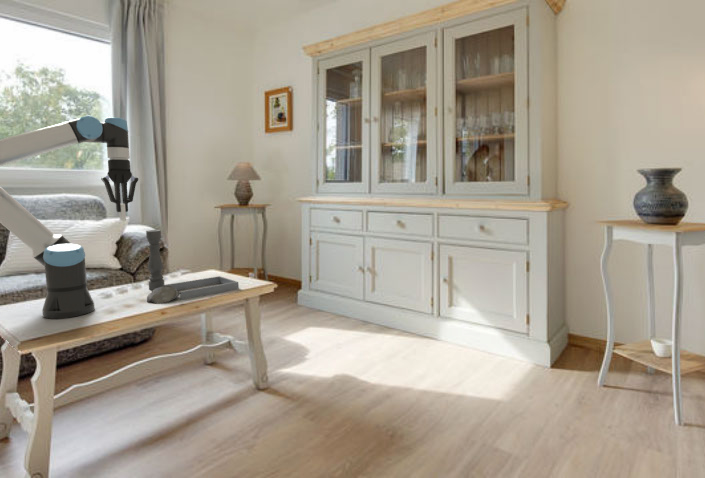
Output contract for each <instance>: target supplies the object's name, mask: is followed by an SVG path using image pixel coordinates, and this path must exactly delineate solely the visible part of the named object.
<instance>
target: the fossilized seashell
mask: <svg viewBox="0 0 705 478" xmlns="http://www.w3.org/2000/svg"><path fill="white" fill-rule="evenodd" d="M180 292H181V290H177V289H176V288H174V287H172V286H162V287H159V288H156V289H154V290H151V292H150V293H149V294H148V295H147V296H146V302H147V303H151V302H152V303H154V304H167V303H169V302H171V301H172V300H175V299H177V298H178V297H179V296H180Z"/></svg>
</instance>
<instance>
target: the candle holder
mask: <svg viewBox="0 0 705 478" xmlns="http://www.w3.org/2000/svg"><path fill="white" fill-rule="evenodd" d="M161 231H162V230H160V229H147V230H146V231H145V235H146V239H147V242H148V244H147V248H148V249H149V258H148V264H147V270H148V271H149V273H150V274H149V277H148V279H149V280H148V290H149V291H153V290H154V289H156V288H159V287H162V286H164V285H165V279H164V275H162V271H164V264H163V261H162V258H161V253H160V252H161V251H160V247H161V246H162V244H161V243H160V241H161V238H162V232H161Z"/></svg>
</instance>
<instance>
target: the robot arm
mask: <svg viewBox="0 0 705 478" xmlns="http://www.w3.org/2000/svg"><path fill="white" fill-rule="evenodd" d="M129 141H130V140H129V128H128V121H127V120H126V118H121V117H113V116H112V117H110V116H109V117H108V116H107V117H106V118H105V119H104V122H102V121H100V119H98V118H97V117H95V116H92V115H82V116H81V117H79V118H76V119H72V120H69V121H64V122H61V123H57V124H54V125H50V126H47V127H42V128H38V129H35V130H31V131H27V132H23V133H20V134H16V135H15V134H14V135H11V136H7V137H5V138H1V139H0V167H2V166H6V165H9V164H13V163H17V162H19V161H23V160H26V159H30V158H33V157H37V156H40V155H43V154H44V155H45V154H46V153H47V154H48V153H50V152H54V151H58V150H60V149H64V148H67V147H71V146H73V145H77V144H81V143H101V144H106V150H107V151H106V152H107V153H106V154H107V155H106V156H107V158H108V160H107V168H108V172H107V175H105V176H103V177H102V176H101V181H102V182H103V184H104V187H105V189H106V192H107V195H108V198H109V201H110V202H111V203H114V204H115V209H116V212H117V213H118V214H119V221H123V222H124V221H127V214H126V212H128V211H129V205H128V204H129V203H132V202H133V201H134V196H135V191H136V186H137V183H138V181H139V178H138V177H136V176H134V175H133V172H132V171H131V161H130V160H129V159H130V157H131V156H130V155H131V154H130V143H129ZM110 181H111V182H113V186H114V191H113V189H112V186H111V183H110ZM129 181H130V185H129V190H128V183H129ZM121 193H122V195H121ZM121 196H122V200H121ZM121 202H122V203H121ZM128 213H129V212H128ZM0 224H1V225H2V226H3V227H4V228H6V229H7V230H8V232H10V233H12V234H13V236H15V237H16V238H17V239H18V240H20V242H22V243H23V244H24V245H25V246H27V247H28V248H29V249H30V250H31V251H32V258H33V259H35V260H36V261H37V262H39V264H41V266H42V267H44V271H45V283H46V296H45V300H44V303H43V307H42V309H41V310H42V311H41V312H42V317H44V319H56V320H57V319H67V318H73V317H74V318H75V317H79V316H83V315H87V314H89V313H91V312H93V311H95V302H94V300H93V297H92V296H91V294H90V292H89V290H88V283H87V282H88V281H87V280H88V279H87V270H86V258H85V257H86V252H85V249H84V247H83V246H82V245H80V244H77V243H71V242H70V241H69V240H68V239H67V238H66V237H65V236H63V234H56V233H53V232H52V231H51V230H50V229H49V228H48V227H47V226H46V225H44V223H42V222H41V221H40V220H39V219H38V218H36V216H35V215H33V214H32V213H31V212H30V211H29V210H28V209H27V208H26V207H24V206H23V205H22V204H21V203H20V202H19V201H18V200H16V199H15V198H14V197H13V196H12V195H11V194H9V192H7V190H5V189H4V188H3V187H2V186H1V185H0Z"/></svg>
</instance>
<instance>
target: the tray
mask: <svg viewBox="0 0 705 478" xmlns="http://www.w3.org/2000/svg"><path fill="white" fill-rule="evenodd" d="M239 285H240V284H239V281H236V280H234V279H233V280H232V279H231V278H228V277H224V276H221V275H218V276H213V277H205V278H201V279H193V280H186V281H181V282H174V283H169V284H164V286H172V287H174V288H176V289H177V290H178V291H180V295H179V296H180V297H179V299H180V300H185V299H186V300H187V299H191V298H192V299H193V298H196V297H202V296H207V295H212V294H217V293H223V292H229V291H235V290H239ZM198 287H199V288H198ZM181 290H182V291H181Z"/></svg>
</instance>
